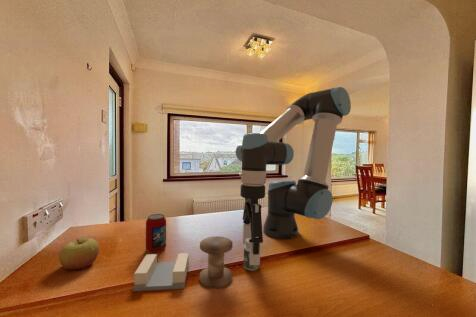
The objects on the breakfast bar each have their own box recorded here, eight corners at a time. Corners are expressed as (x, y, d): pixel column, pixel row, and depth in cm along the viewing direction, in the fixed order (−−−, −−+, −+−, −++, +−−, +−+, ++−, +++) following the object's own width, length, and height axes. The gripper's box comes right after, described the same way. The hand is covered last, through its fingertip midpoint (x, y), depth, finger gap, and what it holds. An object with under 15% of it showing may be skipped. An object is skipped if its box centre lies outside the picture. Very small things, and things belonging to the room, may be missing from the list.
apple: (65, 260, 68) (65, 235, 68) (101, 255, 72) (101, 231, 72) (53, 277, 59) (53, 248, 59) (95, 270, 63) (95, 243, 63)
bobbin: (230, 268, 65) (231, 236, 65) (233, 287, 56) (233, 249, 56) (200, 269, 64) (200, 236, 64) (198, 289, 55) (198, 250, 55)
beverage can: (159, 254, 73) (159, 219, 72) (141, 252, 74) (141, 218, 74) (169, 246, 79) (169, 214, 79) (153, 244, 81) (153, 212, 80)
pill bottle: (243, 262, 69) (244, 236, 69) (258, 263, 69) (259, 237, 69) (243, 270, 64) (244, 243, 64) (259, 271, 64) (260, 243, 64)
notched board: (188, 264, 67) (189, 251, 67) (183, 288, 55) (183, 273, 55) (147, 265, 66) (147, 252, 66) (132, 291, 54) (133, 275, 54)
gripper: (236, 178, 78) (234, 237, 78) (247, 191, 53) (244, 276, 53) (256, 179, 78) (254, 237, 79) (277, 191, 54) (273, 275, 54)
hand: (250, 253), depth 66 cm, fingers open, 13 cm apart
